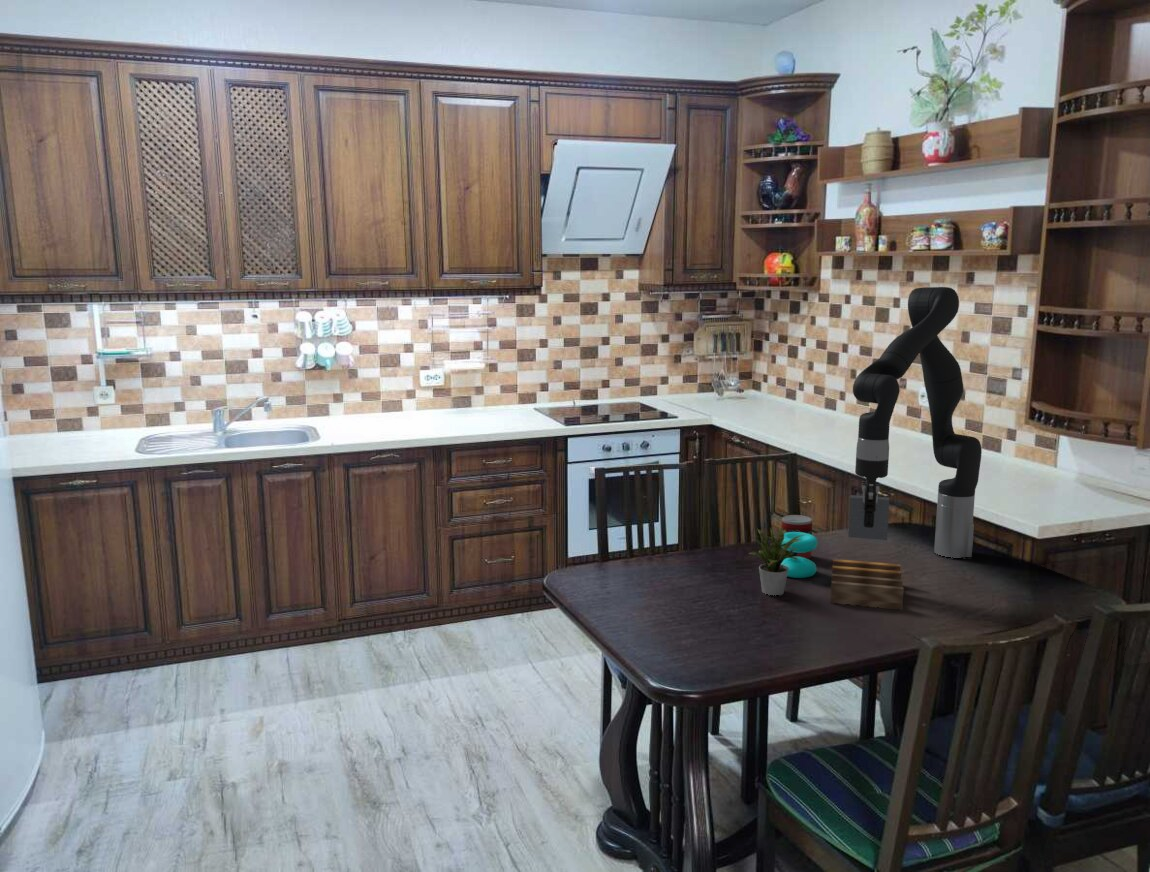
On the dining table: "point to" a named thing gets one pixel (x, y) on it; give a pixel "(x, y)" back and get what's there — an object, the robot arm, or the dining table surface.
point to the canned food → (797, 529)
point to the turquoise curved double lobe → (802, 565)
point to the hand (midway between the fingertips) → (868, 525)
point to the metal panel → (858, 519)
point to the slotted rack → (867, 584)
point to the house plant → (774, 563)
